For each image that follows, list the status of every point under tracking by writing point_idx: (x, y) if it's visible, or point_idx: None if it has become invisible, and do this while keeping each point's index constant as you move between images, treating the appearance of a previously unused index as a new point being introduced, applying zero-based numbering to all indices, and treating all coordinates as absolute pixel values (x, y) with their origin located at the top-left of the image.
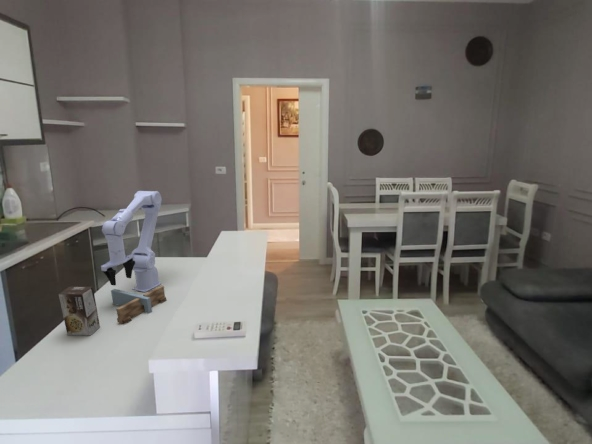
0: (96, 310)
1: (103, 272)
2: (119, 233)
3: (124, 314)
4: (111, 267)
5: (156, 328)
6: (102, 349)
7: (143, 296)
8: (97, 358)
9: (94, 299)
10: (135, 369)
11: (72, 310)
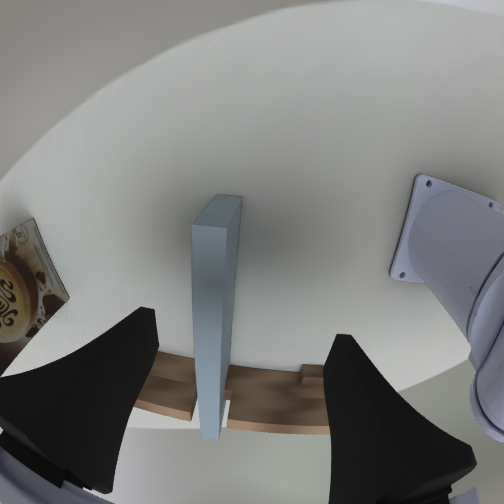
0: (28, 340)
1: (12, 375)
2: None
3: None
4: (74, 497)
5: (162, 423)
6: (49, 360)
7: (214, 424)
8: (38, 364)
9: (2, 371)
10: None
11: None
